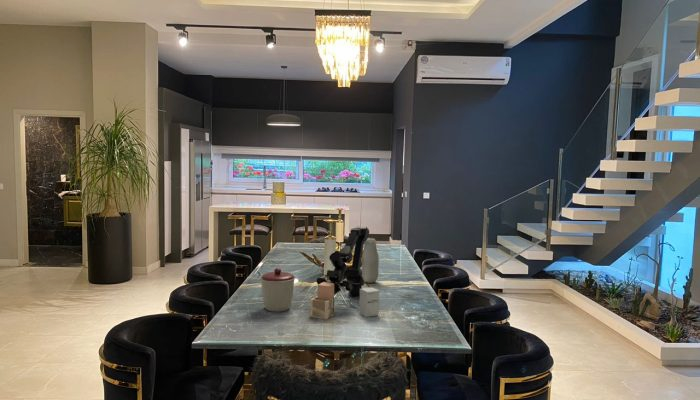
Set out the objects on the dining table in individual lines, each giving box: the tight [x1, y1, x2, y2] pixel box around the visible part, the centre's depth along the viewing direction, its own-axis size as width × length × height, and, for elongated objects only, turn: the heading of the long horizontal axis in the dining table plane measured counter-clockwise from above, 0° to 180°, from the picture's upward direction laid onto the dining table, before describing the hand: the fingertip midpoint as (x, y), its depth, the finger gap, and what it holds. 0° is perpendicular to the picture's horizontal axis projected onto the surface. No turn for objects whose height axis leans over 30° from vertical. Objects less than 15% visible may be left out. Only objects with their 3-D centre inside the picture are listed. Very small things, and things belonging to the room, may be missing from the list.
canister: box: [259, 267, 296, 313], centre depth 254 cm, size 18×18×21 cm
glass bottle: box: [361, 237, 380, 284], centre depth 310 cm, size 10×10×28 cm
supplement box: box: [358, 286, 380, 318], centre depth 248 cm, size 7×7×13 cm
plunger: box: [317, 282, 335, 301], centre depth 248 cm, size 6×6×14 cm
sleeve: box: [309, 295, 335, 320], centre depth 245 cm, size 8×9×9 cm
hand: (328, 298), depth 251 cm, fingers closed, pressing on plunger
